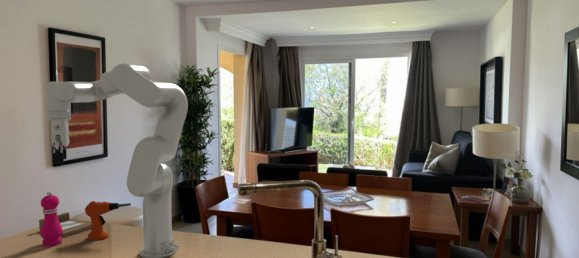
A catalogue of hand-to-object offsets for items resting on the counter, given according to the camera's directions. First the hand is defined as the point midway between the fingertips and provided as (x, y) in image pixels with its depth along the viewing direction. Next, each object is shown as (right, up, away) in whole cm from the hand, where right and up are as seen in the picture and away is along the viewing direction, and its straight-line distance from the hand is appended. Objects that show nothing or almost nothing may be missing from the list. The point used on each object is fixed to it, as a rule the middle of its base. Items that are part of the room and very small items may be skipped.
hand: (60, 161), depth 149 cm
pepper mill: (-4, -31, +2) cm, 32 cm away
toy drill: (+15, -31, +8) cm, 35 cm away
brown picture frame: (-7, -30, +17) cm, 35 cm away
